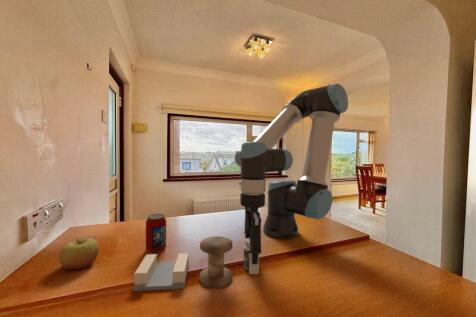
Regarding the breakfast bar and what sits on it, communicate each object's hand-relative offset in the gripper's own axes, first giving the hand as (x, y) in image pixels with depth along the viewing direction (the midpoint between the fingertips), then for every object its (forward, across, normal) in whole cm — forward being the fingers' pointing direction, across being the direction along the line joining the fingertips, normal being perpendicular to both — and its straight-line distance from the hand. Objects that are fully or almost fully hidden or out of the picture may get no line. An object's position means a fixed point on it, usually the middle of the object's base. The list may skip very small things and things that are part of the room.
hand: (251, 265), depth 67 cm
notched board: (0, +3, -26) cm, 26 cm away
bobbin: (0, +5, -11) cm, 12 cm away
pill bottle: (+1, 0, 0) cm, 1 cm away
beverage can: (0, -14, -32) cm, 35 cm away
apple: (0, -5, -52) cm, 52 cm away
